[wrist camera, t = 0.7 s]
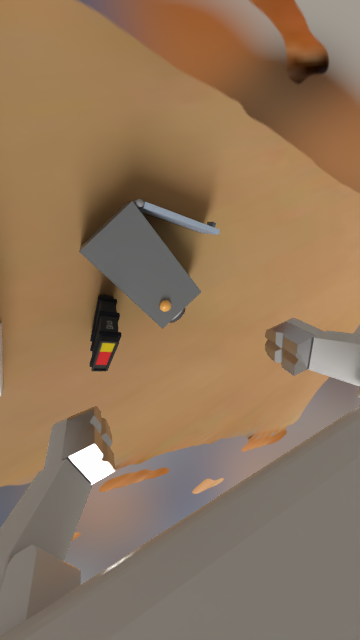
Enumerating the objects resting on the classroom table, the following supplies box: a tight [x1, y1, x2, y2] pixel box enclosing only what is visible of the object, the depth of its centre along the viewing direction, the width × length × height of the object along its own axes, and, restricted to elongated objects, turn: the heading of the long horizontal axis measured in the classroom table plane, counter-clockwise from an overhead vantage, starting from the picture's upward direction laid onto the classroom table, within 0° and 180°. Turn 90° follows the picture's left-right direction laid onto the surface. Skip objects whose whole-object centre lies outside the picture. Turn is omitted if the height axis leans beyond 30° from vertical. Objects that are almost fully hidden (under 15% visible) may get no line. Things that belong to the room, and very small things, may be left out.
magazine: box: [90, 295, 121, 371], centre depth 43 cm, size 4×13×15 cm, turn 161°
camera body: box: [79, 201, 201, 329], centre depth 43 cm, size 24×12×9 cm, turn 38°
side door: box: [133, 199, 220, 235], centre depth 41 cm, size 18×2×8 cm, turn 73°
